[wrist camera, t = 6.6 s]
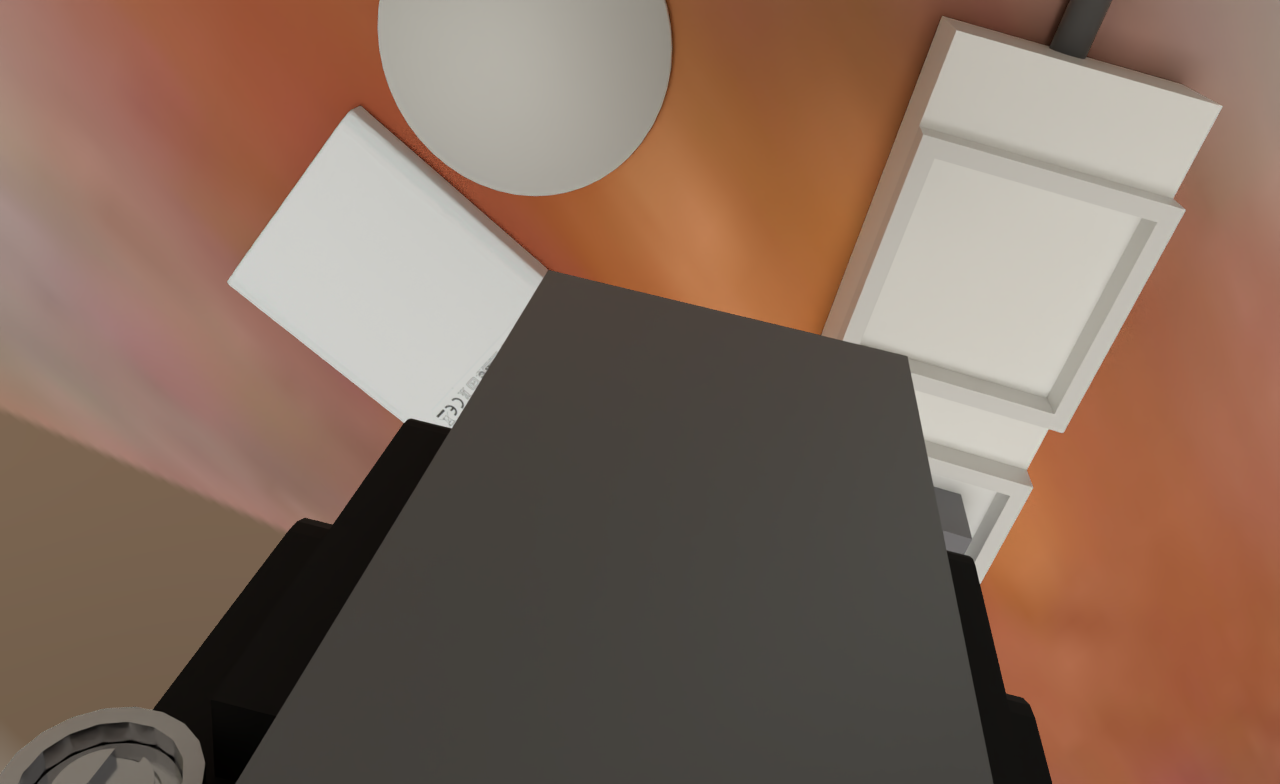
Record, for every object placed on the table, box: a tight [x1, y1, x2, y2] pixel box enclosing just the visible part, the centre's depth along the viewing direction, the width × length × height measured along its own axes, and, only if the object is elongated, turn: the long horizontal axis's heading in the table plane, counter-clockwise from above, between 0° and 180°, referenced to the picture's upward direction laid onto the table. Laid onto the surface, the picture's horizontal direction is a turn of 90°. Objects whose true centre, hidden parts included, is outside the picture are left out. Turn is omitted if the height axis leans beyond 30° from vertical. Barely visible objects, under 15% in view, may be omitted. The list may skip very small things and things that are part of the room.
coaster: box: [378, 0, 673, 196], centre depth 29 cm, size 9×9×1 cm
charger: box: [236, 270, 993, 784], centre depth 9 cm, size 4×4×8 cm
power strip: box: [821, 0, 1223, 584], centre depth 28 cm, size 26×7×5 cm, turn 166°
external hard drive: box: [227, 106, 548, 428], centre depth 34 cm, size 2×8×12 cm
